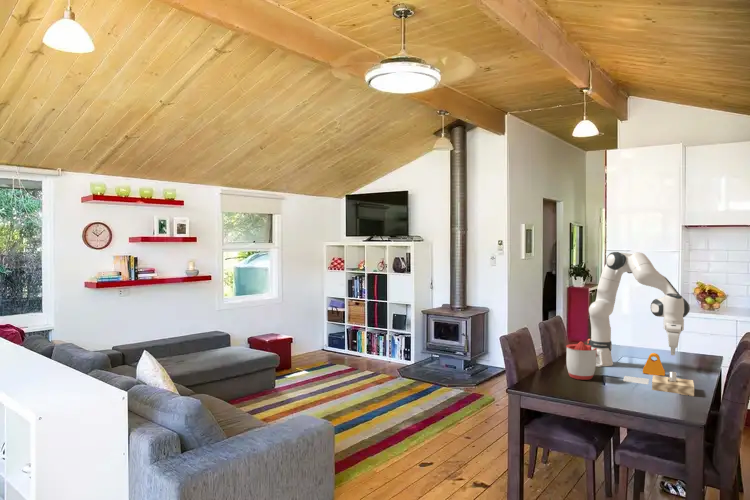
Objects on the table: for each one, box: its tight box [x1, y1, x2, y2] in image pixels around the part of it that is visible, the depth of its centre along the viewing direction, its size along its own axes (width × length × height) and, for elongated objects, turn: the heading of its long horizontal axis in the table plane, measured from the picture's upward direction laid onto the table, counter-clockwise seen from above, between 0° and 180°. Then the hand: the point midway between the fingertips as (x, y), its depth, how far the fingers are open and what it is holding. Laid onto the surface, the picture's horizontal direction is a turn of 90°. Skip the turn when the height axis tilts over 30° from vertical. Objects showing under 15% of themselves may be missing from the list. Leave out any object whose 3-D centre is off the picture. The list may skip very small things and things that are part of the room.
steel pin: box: [669, 370, 677, 382], centre depth 259 cm, size 3×3×9 cm
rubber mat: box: [622, 375, 650, 385], centre depth 275 cm, size 12×12×1 cm
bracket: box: [642, 352, 666, 377], centre depth 288 cm, size 11×7×12 cm, turn 59°
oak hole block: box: [651, 375, 695, 397], centre depth 259 cm, size 18×14×4 cm
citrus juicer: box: [565, 341, 599, 381], centre depth 281 cm, size 16×17×20 cm
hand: (672, 353), depth 258 cm, fingers open, 8 cm apart
